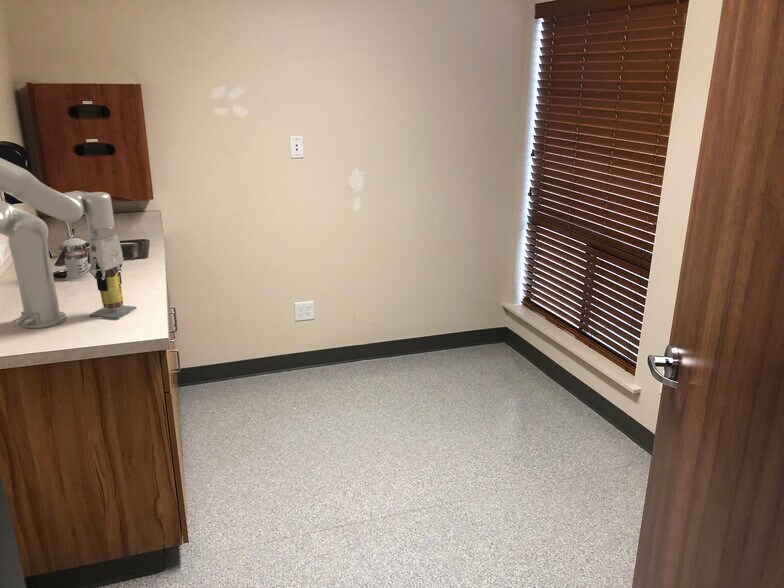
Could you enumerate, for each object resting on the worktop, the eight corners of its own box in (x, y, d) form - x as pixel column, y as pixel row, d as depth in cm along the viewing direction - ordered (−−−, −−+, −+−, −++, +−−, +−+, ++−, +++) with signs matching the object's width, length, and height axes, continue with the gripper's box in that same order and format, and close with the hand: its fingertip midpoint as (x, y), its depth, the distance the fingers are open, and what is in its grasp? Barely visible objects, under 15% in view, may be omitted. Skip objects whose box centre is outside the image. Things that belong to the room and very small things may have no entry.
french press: (59, 281, 223) (47, 215, 215) (76, 271, 234) (66, 209, 226) (84, 281, 223) (74, 216, 215) (100, 272, 234) (91, 209, 226)
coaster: (117, 319, 189) (117, 317, 188) (89, 316, 190) (89, 314, 190) (136, 309, 198) (136, 306, 197) (110, 306, 200) (109, 303, 199)
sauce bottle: (127, 306, 193) (118, 247, 187) (107, 311, 189) (98, 250, 182) (118, 301, 198) (109, 243, 191) (99, 305, 193) (89, 246, 186)
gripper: (94, 239, 177) (102, 297, 182) (130, 227, 192) (136, 280, 198) (72, 238, 178) (81, 294, 184) (109, 225, 194) (116, 278, 200)
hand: (110, 286), depth 191 cm, fingers closed on sauce bottle, 6 cm apart
